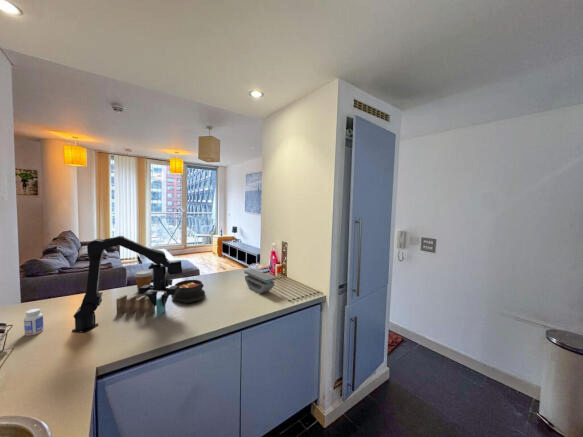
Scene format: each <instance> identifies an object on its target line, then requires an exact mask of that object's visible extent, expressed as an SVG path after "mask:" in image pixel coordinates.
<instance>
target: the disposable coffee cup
mask: <svg viewBox="0 0 583 437" xmlns="http://www.w3.org/2000/svg"><path fill="white" fill-rule="evenodd" d="M152 276H153V270H152V269H144V270H143V269H142V270H139V271H136V272H135V274H134V277H135V281H136V282H135V283H136V289H137V291H138V290H139V288H140V287H142V286H144V285H151V283H152V282H151V280H152Z"/></svg>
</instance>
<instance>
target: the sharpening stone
mask: <svg viewBox="0 0 583 437" xmlns="http://www.w3.org/2000/svg"><path fill="white" fill-rule="evenodd" d="M243 273H244V274H245V276H244V281H245V282H246V284H247V287H248V289H249V290H251V291H253V292H254V293H256V294H258V295H260V294H265V293H267V292H270V291H271V290H272V289H273V288H274V287H275V282H274V281H276V277H275V276H274V275H273V276H272V275H269V274H267V273H264V272H262V271H260V270H257V269H255V268H252V269H247V270H244V271H243Z"/></svg>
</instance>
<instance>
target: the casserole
mask: <svg viewBox="0 0 583 437" xmlns="http://www.w3.org/2000/svg"><path fill="white" fill-rule="evenodd" d="M174 286H179V287H180V292H178V293H177V294H175V295H170V296H171V299H173V300H175V301H179V302H182V303H185V304H186V303H192V302H197V301H200V300H203V299H204V297H205V294H206V292H205V290H204V289H203V288H204V284H203V282H202V281H201V280H198V279H186V280H181V281H178V282H176V283H175V284H174Z"/></svg>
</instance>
